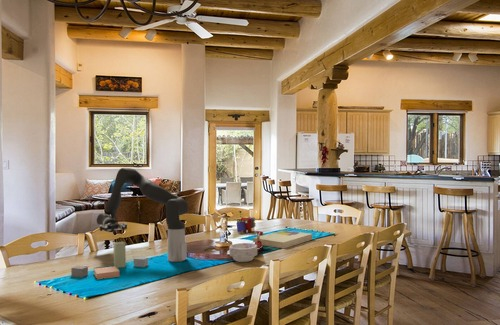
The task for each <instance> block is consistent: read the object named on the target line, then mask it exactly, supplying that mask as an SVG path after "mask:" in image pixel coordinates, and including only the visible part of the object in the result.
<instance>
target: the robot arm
mask: <svg viewBox="0 0 500 325" xmlns="http://www.w3.org/2000/svg"><path fill="white" fill-rule="evenodd" d="M114 180H115V181H114V183H113V186H112V191H111V193H110V194H111V195H110V196H109V199H108V202H107V204H106V205H105V207H104V211H105V212H106V213H100V214H98V216H97V218H96V223H97V225H98V226H99V229H98V230H99V232H102V231H103V232H104V231H105V232H108V233H114V232H116V231H120V230H121V231H125V230H128V223H125V222H122V224H121V223H119V222H118V220H117V219H116V218H117V217H116V215H117V212H118V210H119V207H120V206H121V203H122V188H123V187H124V185H125V184H129V185H133V186H135V187H137V188H139V190H140V192H141V194H142V195H143V196H144V197H146V198H148V199H149V200H150V201H152V202H156V203H159V204H164V205H165V221H166V225H167V261H168V262H171V263H173V262H174V263H176V262H183V261H185V260H187V257H188V256H187V241H186V235H185V234H186V224H185V222H183V221H182V220H180V219H181V218H180V216H183V215H185V214H186V213H188V210H189V204H188V202H187V201H186V200H185V199H184V198H182V197H180V196H177V195H176V194H173V193H172V192H170V191H168V190H167V189H165V188H164V187H162V186H160V185H159V184H157V183H156V182H154V181H152V180H150V179H149V178H147V177H145V176H144V175H142V174H141V173H140V172H139V171H138V170H136V169H134V168H131V167H122V168H119V170H118V171H117V173H116V177H115V179H114ZM107 213H108V214H107Z"/></svg>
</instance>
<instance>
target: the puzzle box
mask: <svg viewBox="0 0 500 325" xmlns="http://www.w3.org/2000/svg"><path fill="white" fill-rule="evenodd" d="M252 241H253V242H257V241H258V240H257V236H256V237H252ZM260 241H262V244H263V245H262V247H263V246H264V247H270V248H271V247H272V248H277V249H286V248H290V247H292V246H297V245H300V244H302V243H306V242H310V241H313V234H312V233H309V232H308V233H306V232H300V231H291V230H290V231H289V230H279V231H275V232H272V233H267V234H263V236H260ZM253 242H252V243H253Z"/></svg>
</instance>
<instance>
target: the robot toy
mask: <svg viewBox="0 0 500 325" xmlns="http://www.w3.org/2000/svg"><path fill="white" fill-rule="evenodd" d="M238 212H239V214H240V216H241V215H242V210H239V211H238ZM256 226H257V225H256V217H251V216H247V217H242V216H241V217H240V218H237V220H236V232H237V233H243V232H245V233H246V234H248V233H252V232H253V231H252V230H253V229H254V228H255V227H256Z"/></svg>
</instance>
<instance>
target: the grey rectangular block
mask: <svg viewBox="0 0 500 325" xmlns="http://www.w3.org/2000/svg"><path fill="white" fill-rule="evenodd" d="M88 275H89V266H81V265H76V266H72V267H71V277H74V278H75V277H77V278H83V277H86V276H88Z"/></svg>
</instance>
